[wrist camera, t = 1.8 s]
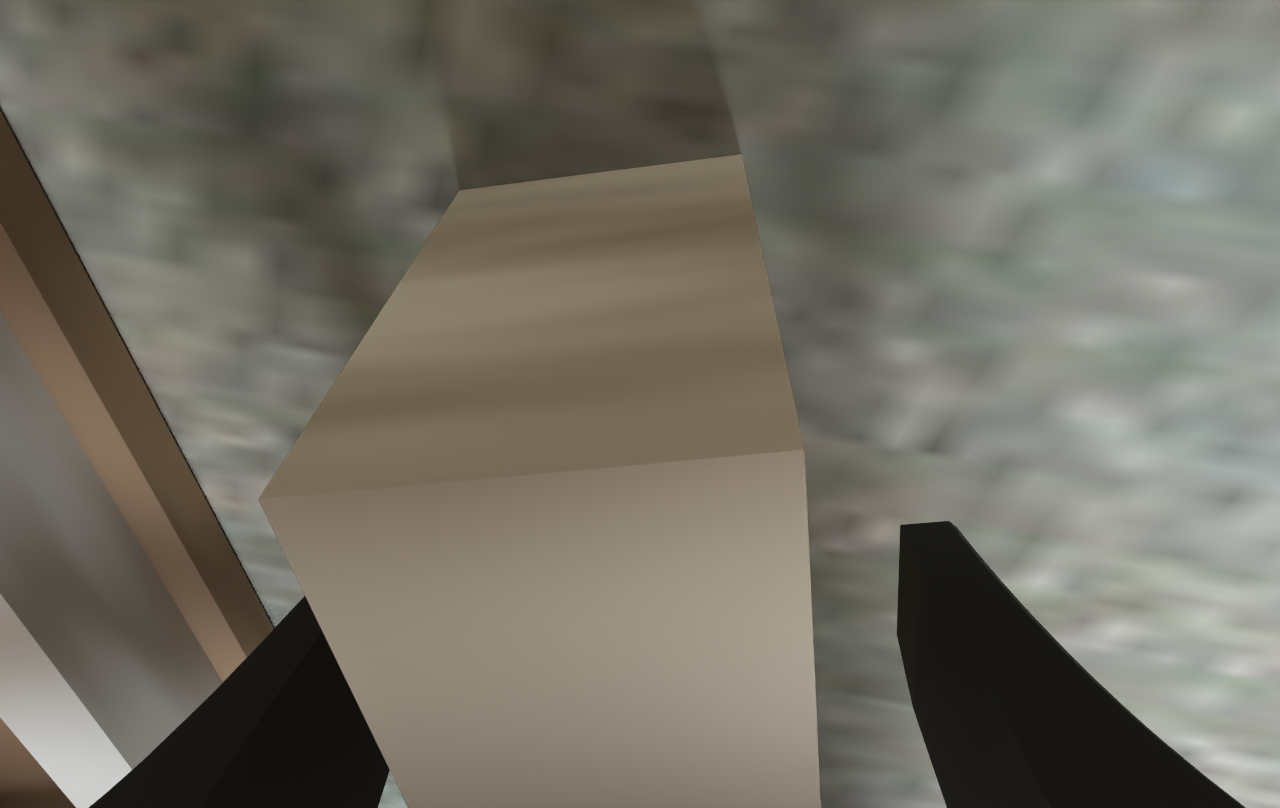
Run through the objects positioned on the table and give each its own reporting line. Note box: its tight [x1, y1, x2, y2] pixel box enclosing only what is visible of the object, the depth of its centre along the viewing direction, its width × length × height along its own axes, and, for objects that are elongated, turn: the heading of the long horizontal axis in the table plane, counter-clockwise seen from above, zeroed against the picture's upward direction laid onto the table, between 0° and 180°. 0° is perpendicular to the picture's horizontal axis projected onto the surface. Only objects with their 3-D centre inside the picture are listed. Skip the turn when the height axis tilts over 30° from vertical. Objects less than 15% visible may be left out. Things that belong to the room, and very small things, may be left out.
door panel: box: [258, 154, 821, 808], centre depth 12 cm, size 10×4×7 cm, turn 8°
